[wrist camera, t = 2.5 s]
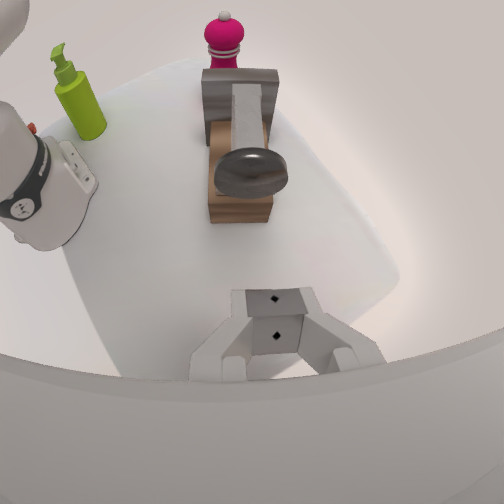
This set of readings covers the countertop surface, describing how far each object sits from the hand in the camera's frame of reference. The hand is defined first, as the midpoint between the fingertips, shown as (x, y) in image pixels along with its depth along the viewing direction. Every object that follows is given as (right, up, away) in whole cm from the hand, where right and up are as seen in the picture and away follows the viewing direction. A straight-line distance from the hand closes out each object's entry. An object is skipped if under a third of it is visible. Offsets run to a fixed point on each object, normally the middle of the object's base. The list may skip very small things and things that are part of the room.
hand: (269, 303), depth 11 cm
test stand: (-3, +14, +32) cm, 35 cm away
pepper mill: (-6, +30, +37) cm, 48 cm away
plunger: (-1, +7, +26) cm, 27 cm away
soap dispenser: (-32, +26, +34) cm, 53 cm away
